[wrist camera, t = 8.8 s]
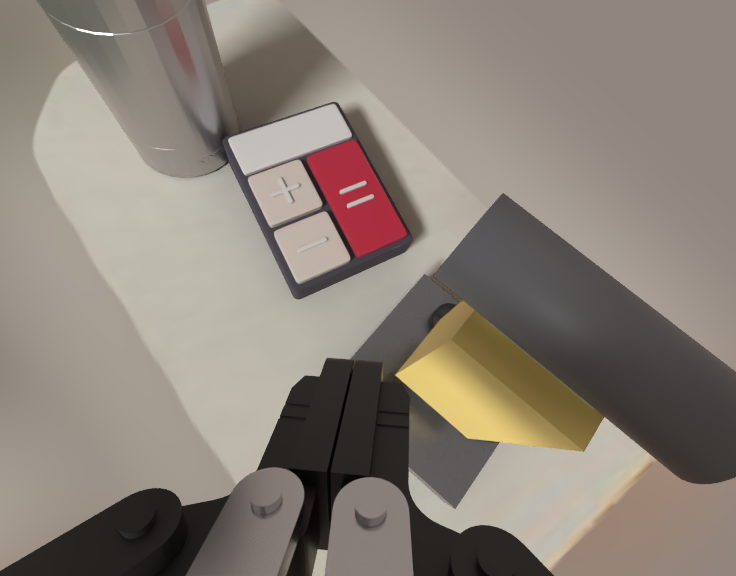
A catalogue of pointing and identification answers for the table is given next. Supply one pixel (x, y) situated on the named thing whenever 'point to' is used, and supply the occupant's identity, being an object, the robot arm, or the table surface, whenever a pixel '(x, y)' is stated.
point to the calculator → (316, 198)
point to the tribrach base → (426, 426)
